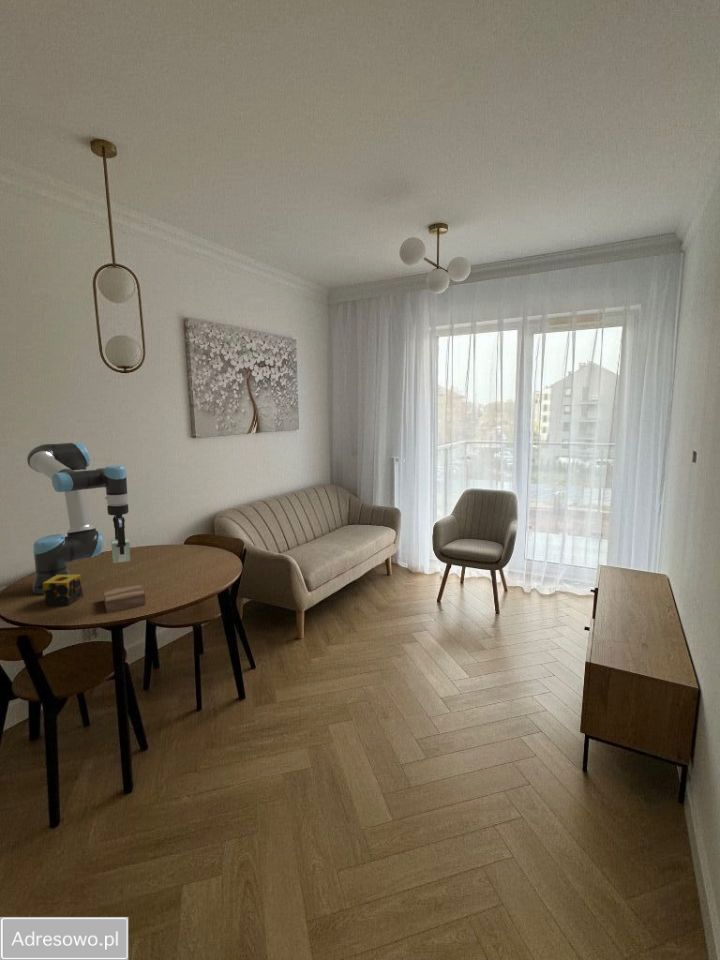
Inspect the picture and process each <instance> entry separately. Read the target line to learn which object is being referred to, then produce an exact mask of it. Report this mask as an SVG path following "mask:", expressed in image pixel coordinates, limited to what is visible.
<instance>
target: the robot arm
mask: <svg viewBox="0 0 720 960" xmlns="http://www.w3.org/2000/svg"><path fill="white" fill-rule="evenodd" d="M26 461H27V465H28V467H29V468H30V469H31V470H33V471H34V472H37V473H39V474H40V473H41V474H43V475H44V476H46V477H47V478H49V479H50V480H51V483H52V487H53V490H54V491H55V492H56V493H64V497H65V504H66V510H67V511H66V512H67V517H68V522H69V529H67V532H66V534H67V536H65V535H64V534H62V533H61V534H59V533H56V534H50V535H46V536H44V537H40V538H38V539H36V541H34V543H33V557H34V567H35V577H34V580H33V583H32V592H33V594H37V595H44V590H43V582H45V581H47V580H49V579H51V578H52V577H54V576H56V575H71V574H70V571H69V570H68V565H67V564H68V563H71V562H76V561H80V560H84V559H91V558H92V557H97V556H98V555H100V554H101V553H102V551H103V547H104V542H103V541H104V539H103V536H102V532H101V531H100V530H97V528H96V527H95V526H94V525H93V524H92V520H91V519H92V518H91V513H90V507H89V503H88V502H89V501H88V495H87V490H91V489H92V490H93V489H100V488H102V489H103V488H105V494H106V496H105V497H104V499H105V500H106V504H107V506H106V507H107V515H110V516H113V517H112V523H113V528H114V540H118V546H116V547H118V560H119V563H126V562H127V561H126V550H125V546H126V543H125V539H126V533H125V529H126V528H125V522H126V520H125V517H124V516H123V515H126V514H127V515H128V513H129V504H128V503H129V497H128V485H127V484H128V483H127V481H128V480H127V477H128V476H127V470H126V466H124V465H107V466H105V468H104V467H101V468H100V467H99V468H96V469H89V470H88V469H87V468H88V467H89V466H90V464H91V462H90V461H91V458H90V454H89V451H88V448H87V447H86V446H85V445H84V444H82V443H80V442H79V443H78V442H68V443H67V442H65V443H45V444H40V445H38V446H36V447H34V448H33V449H32V450H31V451H29V453H28V454H27V458H26ZM125 561H126V562H125Z"/></svg>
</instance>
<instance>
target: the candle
mask: <svg viewBox="0 0 720 960" xmlns="http://www.w3.org/2000/svg"><path fill="white" fill-rule="evenodd" d="M81 577H82V576H81V574H80V573H78V574H76V573H75V574H74V573H73V574H70V575H56V576H54V577H52V578H51V579H49V580H47V581H45V582H43V590H44V594H43V595H44V599H43V600H44V605H45V606H49V605H50V606H53V605H54V606H71V605H72V604H74V603H75V602H77V601H78V600H79V599H80V597H81V598H82V597H84V592H83V587H82V584H81V580H82V578H81Z"/></svg>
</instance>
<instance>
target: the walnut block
mask: <svg viewBox="0 0 720 960" xmlns="http://www.w3.org/2000/svg"><path fill="white" fill-rule="evenodd" d="M102 591H103V601H104V606H105V611H106V613H111V611H112V612H115V611H114V610H117V611H121V610H120V609H122V610H126V609H125V608H127V609H131V608H130V607H132V608H137V607H141V606H140V605H142V606H146V593H145V591H144V590H143V587H142V585H141V583H137V584H136V583H135V584H134V583H133V584H128V585H125V586H118V587H113V588H112V587H111V588H107V589H103V590H102ZM136 606H137V607H136Z"/></svg>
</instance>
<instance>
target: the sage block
mask: <svg viewBox="0 0 720 960" xmlns="http://www.w3.org/2000/svg"><path fill="white" fill-rule="evenodd" d="M110 541H111V559H112V562H113V564H118V563H120V562H119V560H118V547H116V546H118V540H116V539H112V540H110ZM125 543H126V546H125V550H126V561H125V562H124V563H127V562H131V552H130V551H131V550H130V549H131V548H130V540H129V539H128V538H125Z"/></svg>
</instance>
